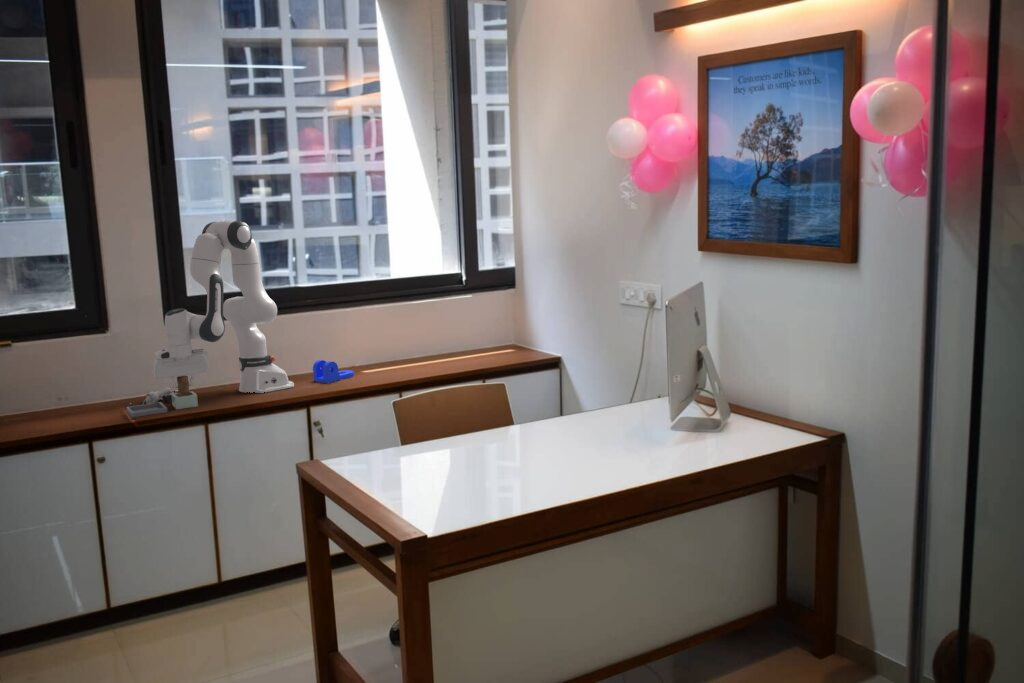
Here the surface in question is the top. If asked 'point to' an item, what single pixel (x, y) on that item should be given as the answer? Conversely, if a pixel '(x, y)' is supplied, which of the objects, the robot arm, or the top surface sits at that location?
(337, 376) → the bracket
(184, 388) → the walnut dowel
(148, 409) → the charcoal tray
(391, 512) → the top surface
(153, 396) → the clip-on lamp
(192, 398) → the sage pot
